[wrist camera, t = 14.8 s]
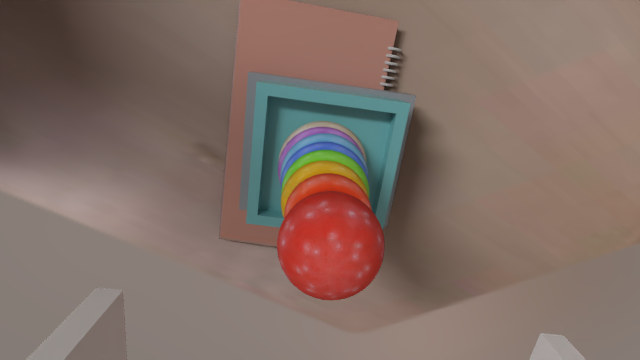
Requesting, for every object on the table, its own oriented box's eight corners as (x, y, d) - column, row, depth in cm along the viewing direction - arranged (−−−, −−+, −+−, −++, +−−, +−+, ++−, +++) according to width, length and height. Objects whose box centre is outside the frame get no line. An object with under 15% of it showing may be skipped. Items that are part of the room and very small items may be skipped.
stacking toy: (374, 187, 33) (444, 332, 15) (295, 210, 33) (272, 376, 16) (351, 107, 30) (403, 167, 12) (267, 134, 31) (201, 228, 13)
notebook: (353, 251, 44) (354, 259, 42) (222, 232, 43) (218, 239, 41) (405, 25, 35) (410, 23, 34) (244, -6, 34) (239, -10, 32)
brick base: (244, 199, 39) (229, 226, 32) (253, 71, 34) (238, 72, 28) (381, 215, 40) (395, 245, 33) (408, 93, 35) (429, 99, 29)
